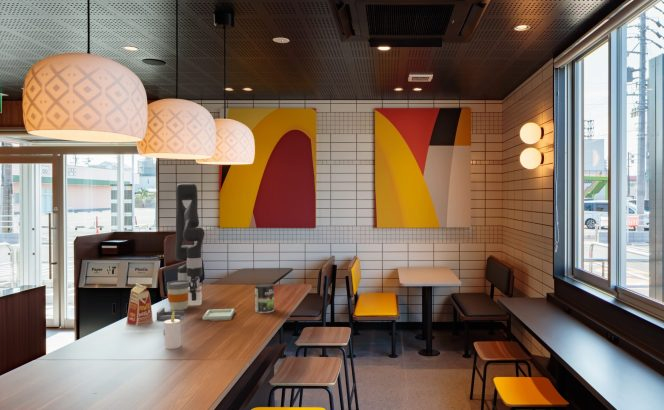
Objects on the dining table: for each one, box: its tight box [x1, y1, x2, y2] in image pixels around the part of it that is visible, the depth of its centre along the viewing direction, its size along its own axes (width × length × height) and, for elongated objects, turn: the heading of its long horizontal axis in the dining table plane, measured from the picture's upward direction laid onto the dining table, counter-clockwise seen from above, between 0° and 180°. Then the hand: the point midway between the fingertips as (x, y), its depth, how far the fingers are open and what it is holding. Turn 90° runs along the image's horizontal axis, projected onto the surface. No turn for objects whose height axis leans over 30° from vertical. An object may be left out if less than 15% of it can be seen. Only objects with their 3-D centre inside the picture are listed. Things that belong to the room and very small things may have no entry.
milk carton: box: [125, 282, 153, 327], centre depth 212 cm, size 9×9×20 cm
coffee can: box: [254, 282, 275, 314], centre depth 232 cm, size 10×10×14 cm
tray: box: [202, 308, 235, 322], centre depth 222 cm, size 14×14×2 cm
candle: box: [163, 310, 182, 350], centre depth 178 cm, size 6×6×15 cm
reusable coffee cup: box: [166, 279, 190, 311], centre depth 239 cm, size 13×13×15 cm
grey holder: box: [155, 307, 188, 322], centre depth 220 cm, size 11×13×5 cm
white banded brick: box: [188, 285, 203, 306], centre depth 221 cm, size 4×6×9 cm
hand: (195, 299), depth 221 cm, fingers closed on white banded brick, 4 cm apart
